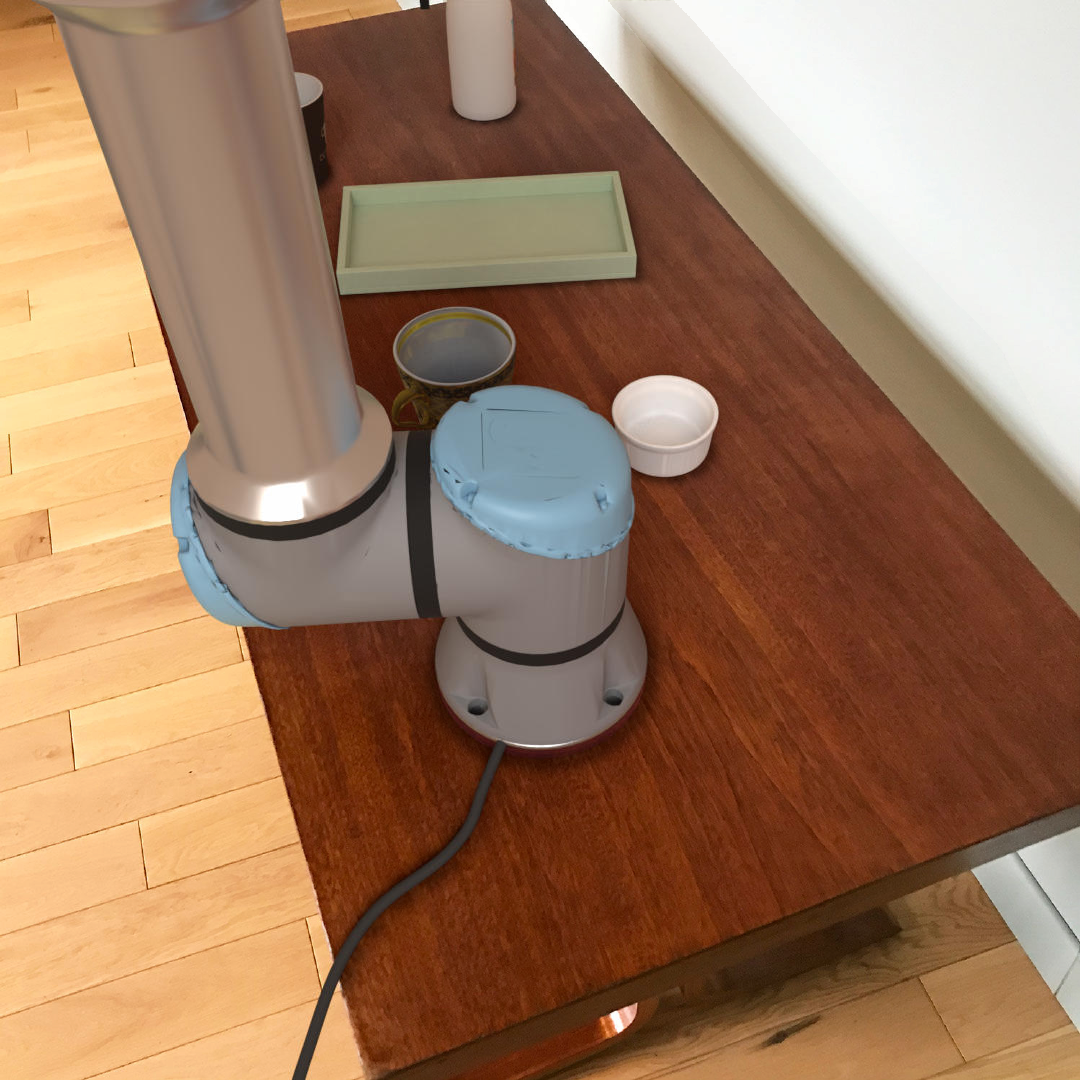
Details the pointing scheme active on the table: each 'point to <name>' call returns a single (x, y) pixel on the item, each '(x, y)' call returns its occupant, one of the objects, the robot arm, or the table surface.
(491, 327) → the ceramic cup
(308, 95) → the coffee mug
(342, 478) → the robot arm
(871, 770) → the table surface
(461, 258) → the tray
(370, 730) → the table surface
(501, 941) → the table surface
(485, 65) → the milk bottle
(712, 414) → the ramekin
